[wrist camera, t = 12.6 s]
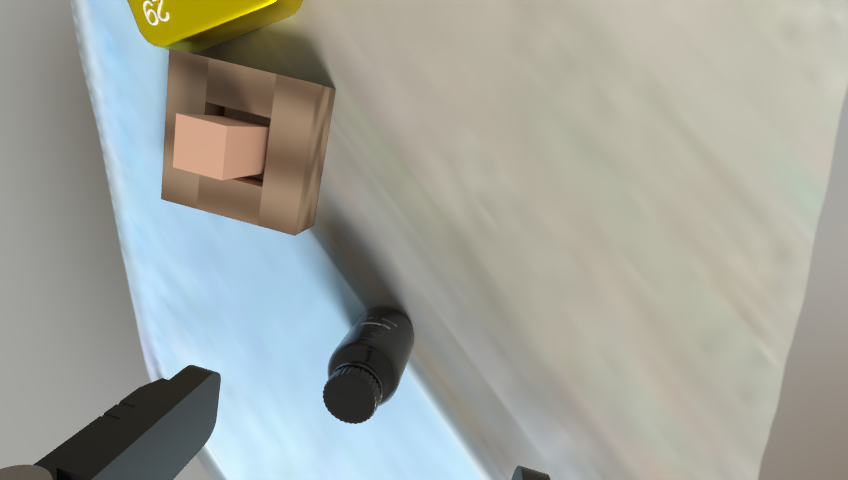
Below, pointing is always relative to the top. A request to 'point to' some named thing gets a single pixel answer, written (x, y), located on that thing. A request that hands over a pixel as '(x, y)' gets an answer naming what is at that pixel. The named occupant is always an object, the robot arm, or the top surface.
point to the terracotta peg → (220, 146)
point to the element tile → (205, 20)
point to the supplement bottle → (368, 364)
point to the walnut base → (287, 145)
